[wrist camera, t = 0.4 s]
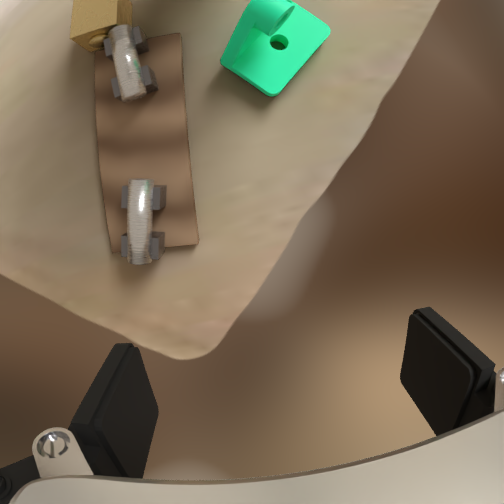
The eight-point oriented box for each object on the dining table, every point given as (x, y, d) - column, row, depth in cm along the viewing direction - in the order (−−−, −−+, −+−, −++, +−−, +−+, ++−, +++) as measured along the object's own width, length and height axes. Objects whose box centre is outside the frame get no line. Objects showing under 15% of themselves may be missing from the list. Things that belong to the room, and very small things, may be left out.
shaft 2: (131, 177, 35) (117, 179, 31) (167, 178, 35) (157, 180, 31) (130, 251, 37) (117, 262, 33) (164, 254, 38) (155, 266, 33)
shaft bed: (99, 55, 32) (94, 51, 30) (181, 37, 32) (179, 32, 31) (116, 249, 39) (112, 252, 37) (199, 240, 39) (197, 244, 38)
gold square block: (91, 13, 30) (74, -4, 24) (132, 1, 30) (118, -19, 24) (89, 55, 32) (69, 42, 26) (131, 44, 32) (116, 28, 26)
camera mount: (272, 101, 35) (285, 80, 25) (221, 66, 34) (216, 35, 24) (328, 37, 33) (354, 4, 23) (279, 4, 31) (292, -37, 22)
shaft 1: (112, 46, 30) (98, 34, 26) (145, 33, 30) (134, 19, 26) (125, 108, 33) (111, 102, 28) (160, 95, 33) (150, 87, 28)
